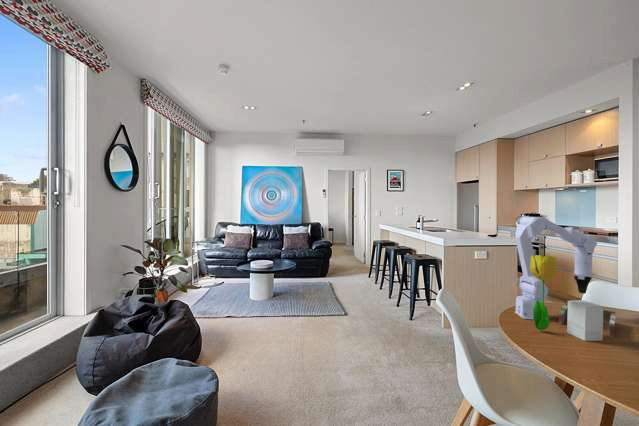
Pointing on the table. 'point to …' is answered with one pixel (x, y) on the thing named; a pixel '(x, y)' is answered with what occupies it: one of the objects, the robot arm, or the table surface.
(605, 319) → the cold frame
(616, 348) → the table surface
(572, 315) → the supplement box
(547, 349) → the table surface
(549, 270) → the flower
